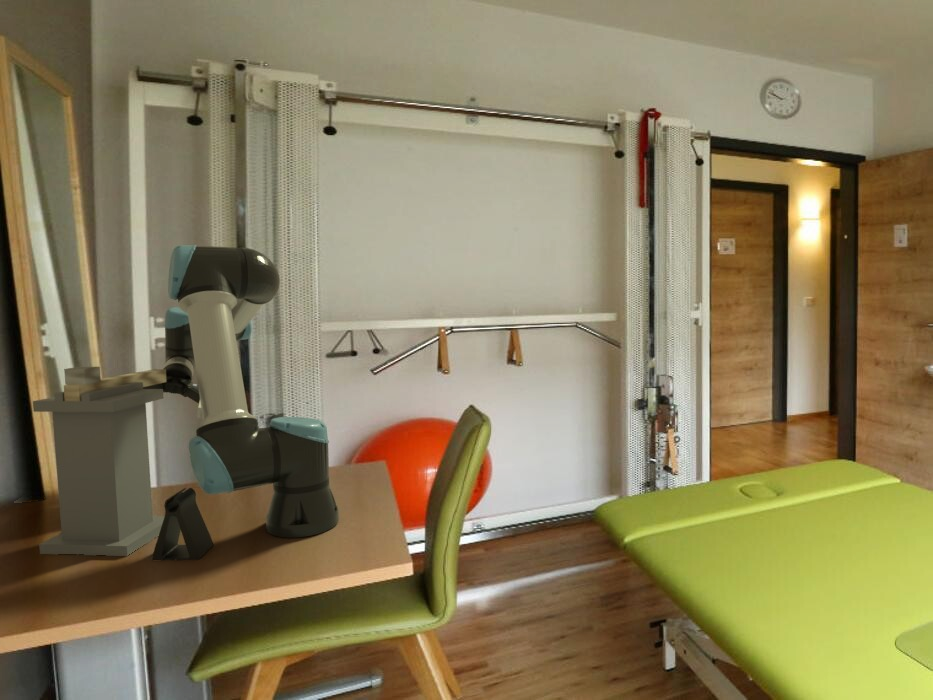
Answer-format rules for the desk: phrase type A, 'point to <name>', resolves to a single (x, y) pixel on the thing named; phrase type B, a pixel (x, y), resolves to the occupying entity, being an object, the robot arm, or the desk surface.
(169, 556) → the dark triangular holder
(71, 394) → the beam
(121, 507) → the stand
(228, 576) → the desk surface
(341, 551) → the desk surface
